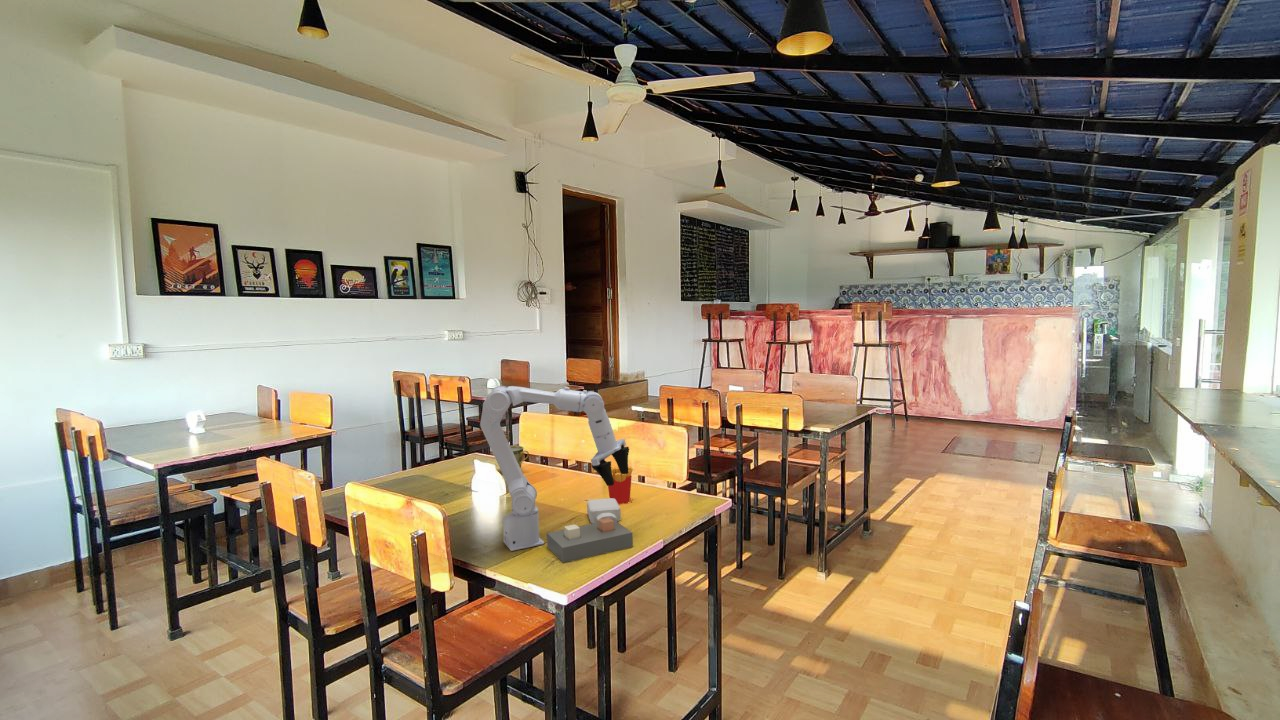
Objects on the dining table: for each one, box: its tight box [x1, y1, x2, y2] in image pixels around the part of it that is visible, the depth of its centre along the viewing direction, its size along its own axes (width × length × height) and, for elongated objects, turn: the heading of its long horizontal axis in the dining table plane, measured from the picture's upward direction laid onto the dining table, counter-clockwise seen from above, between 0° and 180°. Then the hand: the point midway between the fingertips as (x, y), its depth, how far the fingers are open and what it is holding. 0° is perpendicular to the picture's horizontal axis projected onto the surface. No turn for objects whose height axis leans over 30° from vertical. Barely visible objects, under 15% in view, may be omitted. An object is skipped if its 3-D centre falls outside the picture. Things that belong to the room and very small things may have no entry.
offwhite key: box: [563, 524, 580, 540], centre depth 164 cm, size 3×3×3 cm
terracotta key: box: [598, 518, 614, 533], centre depth 168 cm, size 3×3×3 cm
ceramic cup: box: [510, 445, 530, 469], centre depth 242 cm, size 13×10×10 cm
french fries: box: [607, 465, 633, 505], centre depth 204 cm, size 8×4×12 cm, turn 103°
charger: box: [586, 497, 622, 524], centre depth 186 cm, size 5×9×15 cm
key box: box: [546, 519, 634, 564], centre depth 166 cm, size 20×12×4 cm, turn 118°
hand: (618, 479), depth 172 cm, fingers open, 7 cm apart
